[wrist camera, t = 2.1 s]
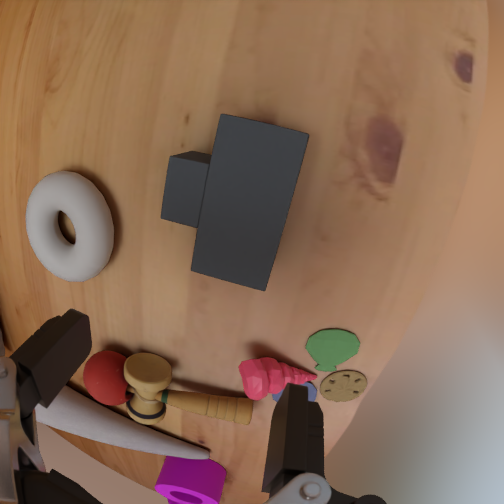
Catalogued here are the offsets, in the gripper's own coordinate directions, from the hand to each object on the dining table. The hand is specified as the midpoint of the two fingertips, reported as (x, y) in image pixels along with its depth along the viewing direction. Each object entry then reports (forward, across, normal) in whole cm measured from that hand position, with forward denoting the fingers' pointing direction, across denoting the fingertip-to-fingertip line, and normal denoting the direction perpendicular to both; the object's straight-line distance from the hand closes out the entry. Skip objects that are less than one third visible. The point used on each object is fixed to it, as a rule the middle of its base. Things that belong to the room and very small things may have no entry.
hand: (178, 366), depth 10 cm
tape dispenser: (+14, -1, +42) cm, 44 cm away
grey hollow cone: (+14, +11, +29) cm, 34 cm away
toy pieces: (+14, -9, +11) cm, 20 cm away
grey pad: (+13, +1, -4) cm, 14 cm away
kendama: (+14, +4, +17) cm, 22 cm away
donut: (+13, +15, +2) cm, 20 cm away
